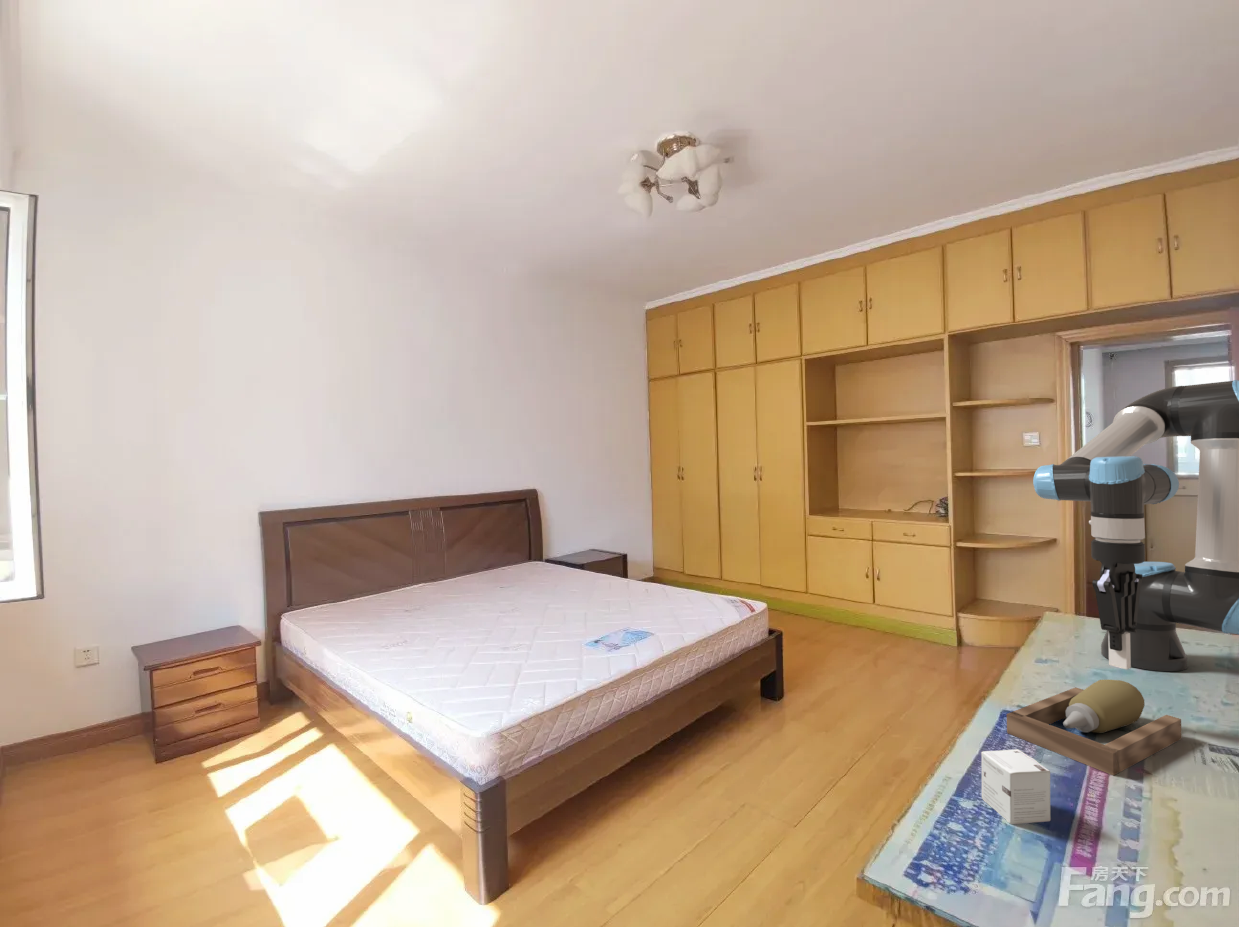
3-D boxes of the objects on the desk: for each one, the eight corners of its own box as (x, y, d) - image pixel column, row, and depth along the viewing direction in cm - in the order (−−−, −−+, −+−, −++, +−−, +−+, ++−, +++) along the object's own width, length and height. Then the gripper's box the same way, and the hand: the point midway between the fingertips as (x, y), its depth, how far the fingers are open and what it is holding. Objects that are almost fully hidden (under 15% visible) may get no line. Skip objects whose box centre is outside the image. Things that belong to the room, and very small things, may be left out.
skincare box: (980, 799, 86) (979, 750, 86) (1019, 796, 86) (1018, 747, 86) (1011, 825, 80) (1010, 772, 80) (1052, 822, 80) (1051, 769, 80)
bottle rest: (1075, 704, 115) (1075, 687, 115) (1181, 738, 101) (1181, 718, 101) (1007, 732, 105) (1006, 713, 105) (1113, 775, 90) (1113, 753, 90)
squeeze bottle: (1163, 702, 103) (1103, 733, 96) (1135, 727, 108) (1075, 758, 101) (1117, 665, 109) (1057, 691, 102) (1092, 690, 114) (1033, 717, 107)
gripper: (1111, 534, 113) (1113, 654, 113) (1074, 540, 107) (1077, 666, 107) (1160, 538, 106) (1162, 666, 106) (1124, 545, 100) (1126, 680, 101)
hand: (1119, 666), depth 107 cm, fingers closed
